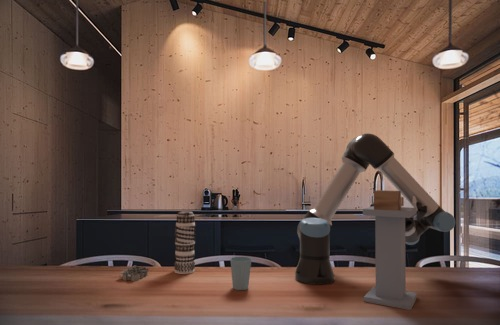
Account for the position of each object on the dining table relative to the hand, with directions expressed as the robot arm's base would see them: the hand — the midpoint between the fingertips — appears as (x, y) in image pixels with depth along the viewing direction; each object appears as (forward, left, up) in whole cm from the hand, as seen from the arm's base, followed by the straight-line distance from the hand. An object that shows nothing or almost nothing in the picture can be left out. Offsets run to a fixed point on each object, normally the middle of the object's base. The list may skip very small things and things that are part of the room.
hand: (393, 199), depth 130 cm
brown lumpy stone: (-89, -41, -33) cm, 104 cm away
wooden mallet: (+1, -7, -2) cm, 7 cm away
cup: (-47, -30, -33) cm, 64 cm away
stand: (+1, -12, -32) cm, 35 cm away
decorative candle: (-79, -24, -33) cm, 89 cm away
